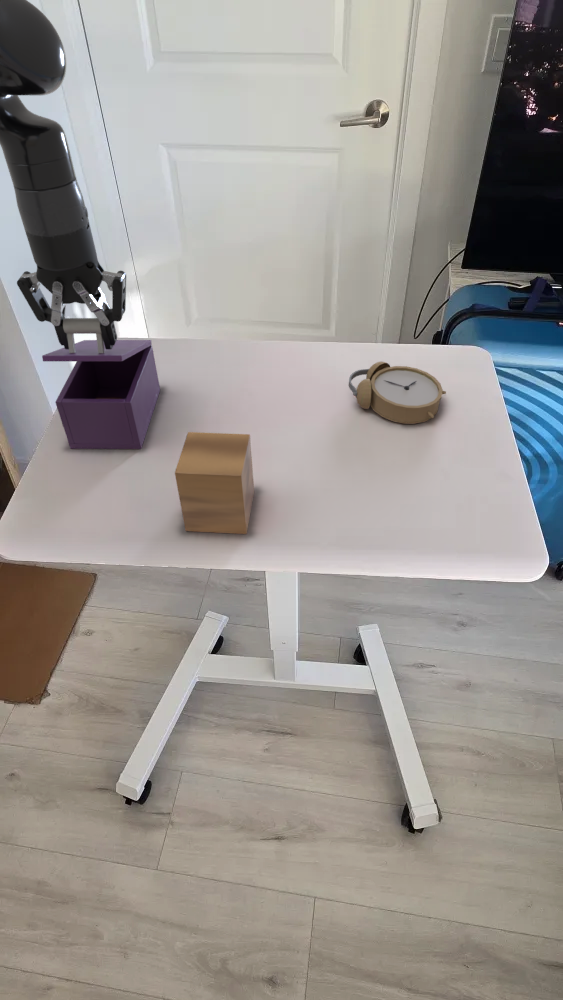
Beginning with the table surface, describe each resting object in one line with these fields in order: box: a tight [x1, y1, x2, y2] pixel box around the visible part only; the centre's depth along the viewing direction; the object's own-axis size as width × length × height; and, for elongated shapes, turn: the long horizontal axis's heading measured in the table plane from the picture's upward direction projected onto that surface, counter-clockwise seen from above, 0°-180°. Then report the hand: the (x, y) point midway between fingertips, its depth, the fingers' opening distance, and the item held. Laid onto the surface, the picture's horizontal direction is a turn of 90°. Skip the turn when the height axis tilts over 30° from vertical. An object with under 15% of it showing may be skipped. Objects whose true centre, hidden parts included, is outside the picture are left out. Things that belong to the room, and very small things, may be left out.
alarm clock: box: [348, 361, 447, 425], centre depth 99 cm, size 11×5×15 cm
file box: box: [54, 345, 161, 450], centre depth 96 cm, size 16×11×8 cm
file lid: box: [41, 317, 153, 362], centre depth 90 cm, size 17×11×5 cm, turn 178°
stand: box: [174, 431, 255, 535], centre depth 80 cm, size 8×8×10 cm
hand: (90, 346), depth 87 cm, fingers closed on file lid, 5 cm apart
